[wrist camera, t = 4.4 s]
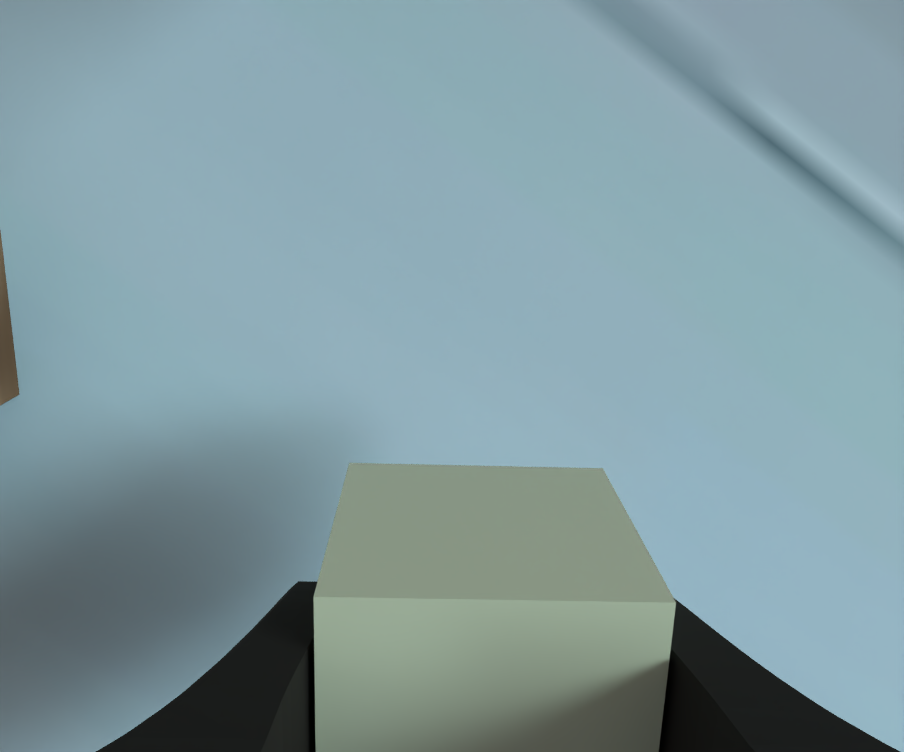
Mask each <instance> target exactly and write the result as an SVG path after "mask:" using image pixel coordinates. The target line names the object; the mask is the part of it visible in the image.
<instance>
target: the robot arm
mask: <svg viewBox="0 0 904 752" xmlns="http://www.w3.org/2000/svg"><path fill="white" fill-rule="evenodd" d="M316 586H317V582H299V581H298V582H297V583H296V584H295V585H294V586H293V587H292V588H291V589H290V590H289V591H288V592H287V593H286V594H285V595H284V596H283V597H282V598H281V599H280V600H279V601H278V602H277V603H276V605H275V606H274V607H273V608H272V609H271V610H270V611H269V612H268V613H267V614H266V615H265V616H264V617H263V618H262V619H261V620H260V622H259V623H258V624H257V625H256V626H255V627H254V628H253V629H252V630H251V631H250V632H249V633H248V634H247V635H246V636H245V637H244V638H243V639H242V640H241V641H240V642H239V643H238V644H237V645H235V646H234V647H233V648H232V649H231V650H230V651H229V652H228V653H227V654H226V655H225V656H224V657H223V658H222V659H221V660H220V661H219V662H218V663H217V664H215V665H214V666H213V667H212V668H211V669H210V670H209V671H207V672H206V673H205V674H204V675H203V676H202V677H200V678H199V679H198V680H197V681H196V682H195V683H194V684H192V685H191V686H190V687H189V688H188V689H187V690H186V691H184V692H183V693H182V694H181V695H179V696H178V697H177V698H175V699H174V700H173V701H171V702H170V703H169V704H167V705H166V706H165V707H164V708H162V709H161V710H159V711H158V712H157V713H155V714H154V715H152V716H151V717H149V718H148V719H147V720H145V721H144V722H142V723H141V724H139V725H138V726H137V727H135V728H134V729H132V730H131V731H129V732H128V733H126V734H125V735H123V736H122V737H120V738H118V739H117V740H115V741H113V742H112V743H110V744H108V745H107V746H105V747H103V748H102V749H100V750H98V751H96V752H316V742H315V668H314V593H315V590H316ZM674 600H675V602H676V608H675V616H674V625H673V633H672V642H671V650H670V659H669V667H668V676H667V685H666V693H665V702H664V710H663V719H662V727H661V736H660V744H659V752H900V751H898V750H896V749H894V748H892V747H890V746H888V745H886V744H885V743H883V742H881V741H879V740H877V739H876V738H874V737H872V736H870V735H869V734H867V733H865V732H863V731H862V730H860V729H858V728H856V727H855V726H853V725H851V724H849V723H848V722H846V721H844V720H843V719H841V718H839V717H837V716H836V715H834V714H832V713H831V712H829V711H828V710H826V709H824V708H823V707H821V706H820V705H818V704H816V703H815V702H813V701H812V700H810V699H809V698H807V697H806V696H804V695H803V694H801V693H800V692H798V691H797V690H795V689H794V688H792V687H791V686H790V685H788V684H787V683H785V682H784V681H782V680H781V679H779V678H778V677H776V676H775V675H773V674H772V673H771V672H769V671H768V670H767V669H765V668H764V667H762V666H761V665H760V664H758V663H757V662H755V661H754V660H753V659H751V658H750V657H749V656H747V655H746V654H745V653H743V652H742V651H741V650H739V649H738V648H737V647H736V646H734V645H733V644H732V643H730V642H729V641H728V640H726V639H725V638H724V637H723V636H721V635H720V634H719V633H717V632H716V631H715V630H714V629H712V628H711V627H710V626H709V625H707V624H706V623H705V622H704V621H702V620H701V619H700V618H698V617H697V616H696V615H695V614H693V613H692V612H691V611H690V610H688V609H687V608H686V607H685V606H683V605H682V604H681V603H679V602H678V601H677V600H676V599H674Z"/></svg>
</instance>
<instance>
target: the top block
mask: <svg viewBox="0 0 904 752" xmlns="http://www.w3.org/2000/svg"><path fill="white" fill-rule="evenodd" d="M675 608H676V602H675V600H674V598H673V596H672V594H671V592H670V591H669V589H668V587H667V585H666V583H665V582H664V580H663V578H662V576H661V574H660V572H659V571H658V569H657V567H656V565H655V563H654V561H653V560H652V558H651V556H650V554H649V552H648V550H647V549H646V547H645V545H644V543H643V541H642V539H641V538H640V536H639V534H638V532H637V530H636V529H635V527H634V525H633V523H632V521H631V519H630V518H629V516H628V514H627V512H626V510H625V508H624V507H623V505H622V503H621V501H620V499H619V497H618V496H617V494H616V492H615V490H614V488H613V486H612V485H611V483H610V481H609V479H608V477H607V476H606V474H605V472H604V470H603V468H558V467H512V466H465V465H419V464H372V463H349V466H348V470H347V474H346V477H345V481H344V485H343V488H342V492H341V496H340V500H339V503H338V507H337V511H336V515H335V518H334V522H333V526H332V530H331V533H330V537H329V541H328V545H327V548H326V552H325V556H324V560H323V563H322V567H321V571H320V575H319V578H318V582H317V586H316V590H315V593H314V668H315V742H316V752H659V744H660V736H661V727H662V719H663V710H664V702H665V693H666V685H667V676H668V667H669V659H670V650H671V642H672V633H673V625H674V616H675Z"/></svg>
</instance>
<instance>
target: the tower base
mask: <svg viewBox="0 0 904 752" xmlns="http://www.w3.org/2000/svg"><path fill="white" fill-rule="evenodd" d="M17 395H19V387H18V378H17V370H16V361H15V352H14V344H13V335H12V327H11V318H10V309H9V301H8V292H7V283H6V275H5V266H4V257H3V249H2V240H1V232H0V405H2V404H4V403H5V402H7V401H9V400H11V399H12V398H14V397H16V396H17Z"/></svg>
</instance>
